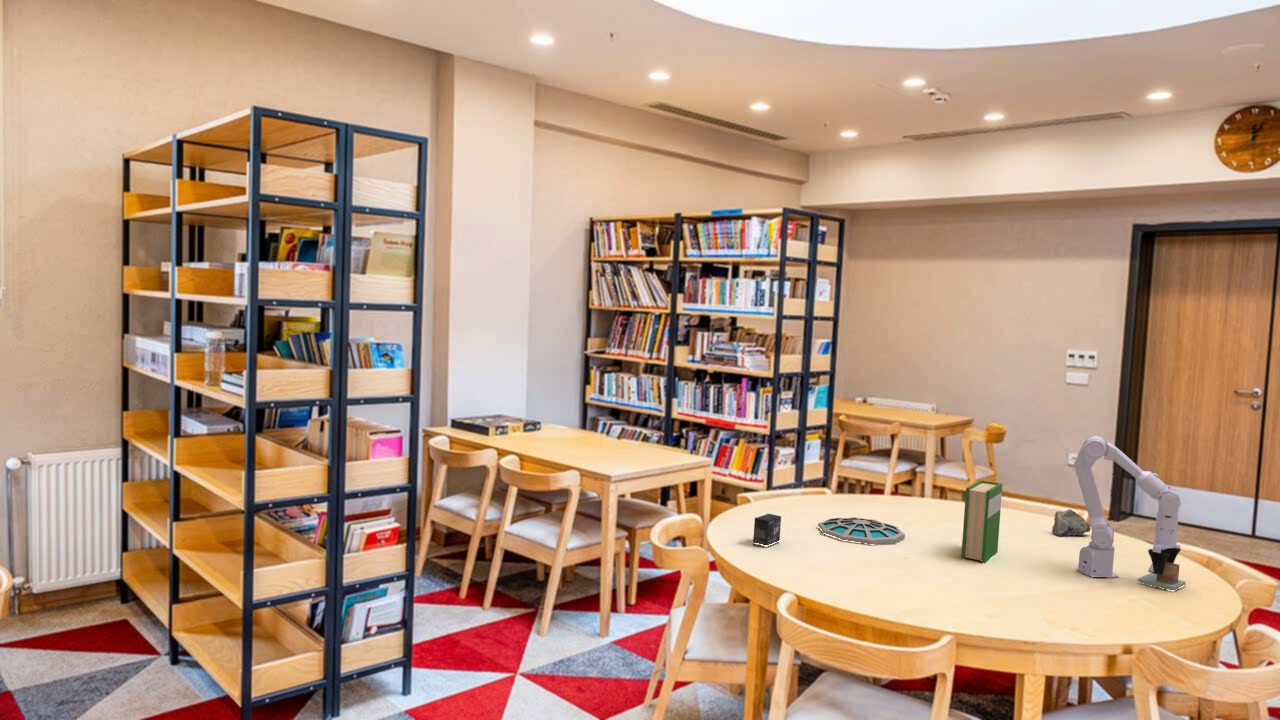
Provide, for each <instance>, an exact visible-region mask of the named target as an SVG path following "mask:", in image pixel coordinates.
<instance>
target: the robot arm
mask: <svg viewBox="0 0 1280 720" xmlns="http://www.w3.org/2000/svg"><path fill="white" fill-rule="evenodd" d="M1103 457H1104V458H1103ZM1101 458H1103V459H1104V460H1106V461H1113V462H1115V464H1117V465H1118V466H1120V467H1121V468H1122V469H1123V470H1125V471H1126V472H1128V473H1129V474H1130V475H1131V476H1132V477H1134V479H1135V484H1136V486H1138V488H1140V489H1141V490H1142V491H1143V492H1145V493H1146V494H1147V495H1148V496H1150V498H1151V499H1153V500H1156V501H1157V503H1158V504H1157V505H1158V506H1157V507H1158V509H1157V512H1156V518H1155V530H1154V531H1155V533H1154V540H1153V545H1152V548H1150V549H1148V550H1147V552H1148V555H1149V556H1150V560H1151V564H1153V570H1154V573H1153V574H1156V575H1157V574H1159V575H1162V574H1163V571H1164V567H1165V564H1166V562H1170V563H1175V562H1176V561H1175V560H1176V559H1177V556H1178V555H1179V553H1180V552H1181V550H1182V548H1181V545H1180V544H1178V543H1177V542H1178V539H1177V536H1178V526H1179V513H1180V510H1179V509H1180V507H1181V505H1182V502H1181V499H1180V495H1179V494H1178V493H1177V492H1176V490H1175V489H1173V488H1172V486H1171V485H1170V484H1166V483H1165V482H1163V481H1162V480H1161V478H1159V474H1157V473H1156V472H1154V473H1153V472H1152V471H1149V470H1148V471H1146V470H1143V469H1142V468H1141V467H1139V465H1137V464H1136V463H1135V462H1134V461H1133V460H1132V459H1130V458H1129V456H1127V455H1126V454H1125V453H1124V452H1123V451H1121V450H1120V449H1119V448H1118V447H1117V446H1115V445H1114V444H1113V443H1111V442H1110V441H1107V440H1106V439H1105V438H1104V437H1103V436H1101V435H1095V434H1094V435H1090V436H1089V437H1088V438H1087V439H1086V440H1084V442H1083V443H1082V445H1081V447H1080V449H1079V452H1078V454H1077V456H1076V459H1075V461H1074V463H1073V466H1074V470H1075V473H1076V477H1077V480H1078V484H1079V487H1080V490H1081V495H1082V498H1083V501H1084V505H1085V509H1086V511H1087V515H1088V518H1089V522H1090V523H1089V524H1091V527H1090V529H1091V535H1090V540H1091V541H1089V543H1088V544H1087V546H1084V547H1082V548H1081V549H1080V550H1079V554H1078V556H1079V557H1078V568H1076V569H1075V570H1076V571H1077V570H1078V571H1077V572H1080V573H1082V574H1084V575H1086V576H1088V575H1089V576H1088V577H1090V576H1091V577H1090V578H1093V577H1107V578H1119V577H1120V576H1119V574H1116V573H1114V560H1115V546H1114V545H1113V544H1114V540H1115V539H1114V537H1115V531H1114V529H1113V527H1111V525H1110V524H1109V522H1108V519H1107V517H1106V514H1105V511H1104V507H1103V504H1102V500H1101V497H1100V495H1099V491H1098V486H1097V483H1096V481H1095V477H1094V473H1093V470H1092V467H1093V466H1094V465H1095V464H1096V462H1097V461H1098V460H1100V459H1101Z"/></svg>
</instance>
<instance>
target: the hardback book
mask: <svg viewBox="0 0 1280 720" xmlns="http://www.w3.org/2000/svg"><path fill="white" fill-rule="evenodd" d="M1002 495H1003V482H1002V483H1001V482H994V481H988V480H978V481H976V482H974V483H972V484H971V485H969V486H967V487H966V488H965V497H964V498H965V500H964V516H963V527H962V528H963V529H962V540H961V541H962V542H961V544H962V545H961V556H960V557H961V558H960V559H961V560H963V559H964V560H966V559H972V560H978V561H981V564H983V563H984V564H986V563H987V562H988V561H989V560H990V558H991V557H992V556H993V557H994V556H995V555H996V554H997V553H999V552H998V551H999V549H998V547H999V536H1000V525H1001V524H1000V523H1001V521H1000V520H1001V509H1002V497H1003V496H1002ZM993 557H992V558H993ZM992 558H991V559H992Z"/></svg>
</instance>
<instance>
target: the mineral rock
mask: <svg viewBox="0 0 1280 720" xmlns="http://www.w3.org/2000/svg"><path fill="white" fill-rule="evenodd" d="M1053 520H1054V523H1053V524H1054V525H1052V528H1051V532H1052V533H1053V535H1054V536H1057V537H1058V536H1059V537H1060V536H1061V537H1062V536H1063V537H1068V536H1081V535H1083V534H1085V533H1089V532H1090V531H1092V529H1091V524H1090V523H1089V522H1088V521H1086V520H1085V518H1084V517H1083V516H1081V515H1080V514H1079V513H1076V512H1075V511H1074V510H1072V509H1070V508H1069V509H1066V510H1064V511H1061V510H1060V511H1059V510H1058V511H1055V513H1054V519H1053Z"/></svg>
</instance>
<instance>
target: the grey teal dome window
mask: <svg viewBox="0 0 1280 720" xmlns="http://www.w3.org/2000/svg"><path fill="white" fill-rule="evenodd" d="M818 526H819V527H820V528H821V529H822V531H823V533H826V534H829V535H832V536H835V537H837V538H840V539H842V540H848V541H855V542H861V543H867V544H881V545H896V544H897V543H899V542H900V540H901V541H902V539H903V540H905V539H906V535H905V534H906V533H904V532H903V531H901V530H900V528H899V527H898V526H895V525H892V524H888V523H886V522H881V521H877V520H876V519H871V518H870V519H869V518H860V517H855V516H853V517H835V518H832V517H831V518H828V519H827V520H824V521H821V522H818V523H817V527H818ZM896 542H897V543H896ZM895 543H896V544H895Z"/></svg>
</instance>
